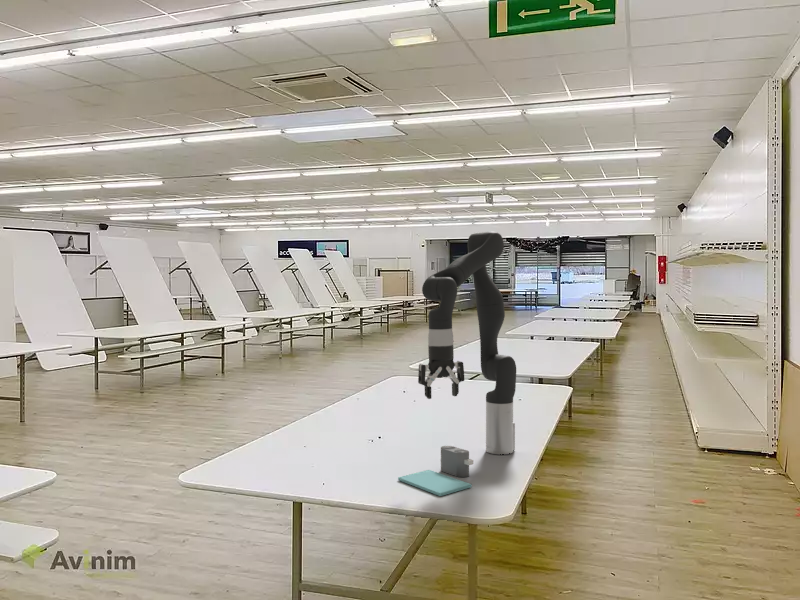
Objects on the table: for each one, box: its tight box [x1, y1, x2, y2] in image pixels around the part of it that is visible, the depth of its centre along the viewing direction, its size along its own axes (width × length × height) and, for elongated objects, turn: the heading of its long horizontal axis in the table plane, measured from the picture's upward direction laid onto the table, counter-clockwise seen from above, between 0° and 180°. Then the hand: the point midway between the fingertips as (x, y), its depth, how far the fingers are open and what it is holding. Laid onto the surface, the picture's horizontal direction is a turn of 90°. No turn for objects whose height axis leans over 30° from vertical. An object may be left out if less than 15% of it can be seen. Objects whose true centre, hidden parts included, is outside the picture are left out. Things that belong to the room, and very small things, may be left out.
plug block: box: [440, 445, 474, 478], centre depth 187 cm, size 4×12×7 cm, turn 39°
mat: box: [397, 469, 472, 497], centre depth 178 cm, size 12×18×1 cm, turn 39°
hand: (441, 397), depth 187 cm, fingers open, 8 cm apart
